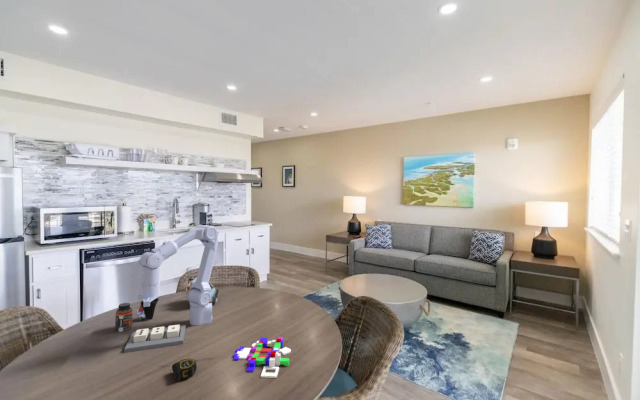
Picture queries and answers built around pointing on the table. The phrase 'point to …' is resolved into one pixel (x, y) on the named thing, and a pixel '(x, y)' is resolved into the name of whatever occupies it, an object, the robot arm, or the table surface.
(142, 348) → the keypad board
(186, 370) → the tape measure
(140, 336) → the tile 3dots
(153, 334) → the tile
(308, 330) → the table surface
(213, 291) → the lucky cat figurine
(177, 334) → the tile
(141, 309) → the geometric puzzle
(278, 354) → the building block set
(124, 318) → the supplement bottle
